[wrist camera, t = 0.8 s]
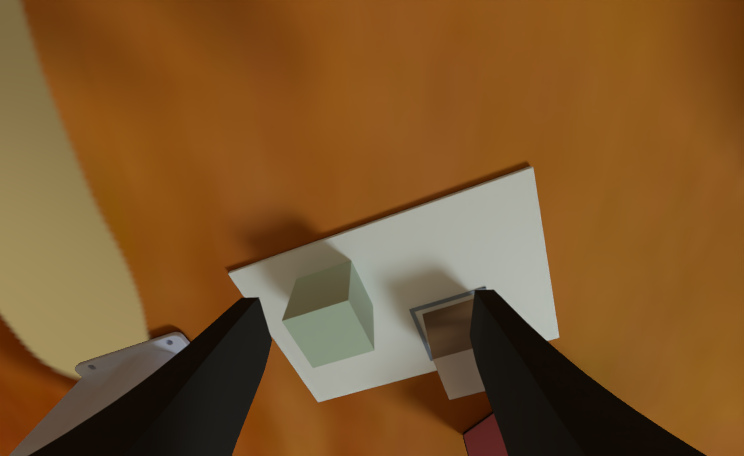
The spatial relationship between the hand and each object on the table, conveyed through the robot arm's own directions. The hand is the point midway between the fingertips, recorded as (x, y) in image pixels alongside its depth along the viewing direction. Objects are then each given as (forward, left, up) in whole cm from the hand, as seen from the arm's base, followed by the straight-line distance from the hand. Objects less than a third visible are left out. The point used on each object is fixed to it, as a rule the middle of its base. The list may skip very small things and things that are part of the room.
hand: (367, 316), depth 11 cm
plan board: (0, -8, -10) cm, 12 cm away
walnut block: (+3, -11, -9) cm, 15 cm away
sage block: (-4, -5, -9) cm, 11 cm away
